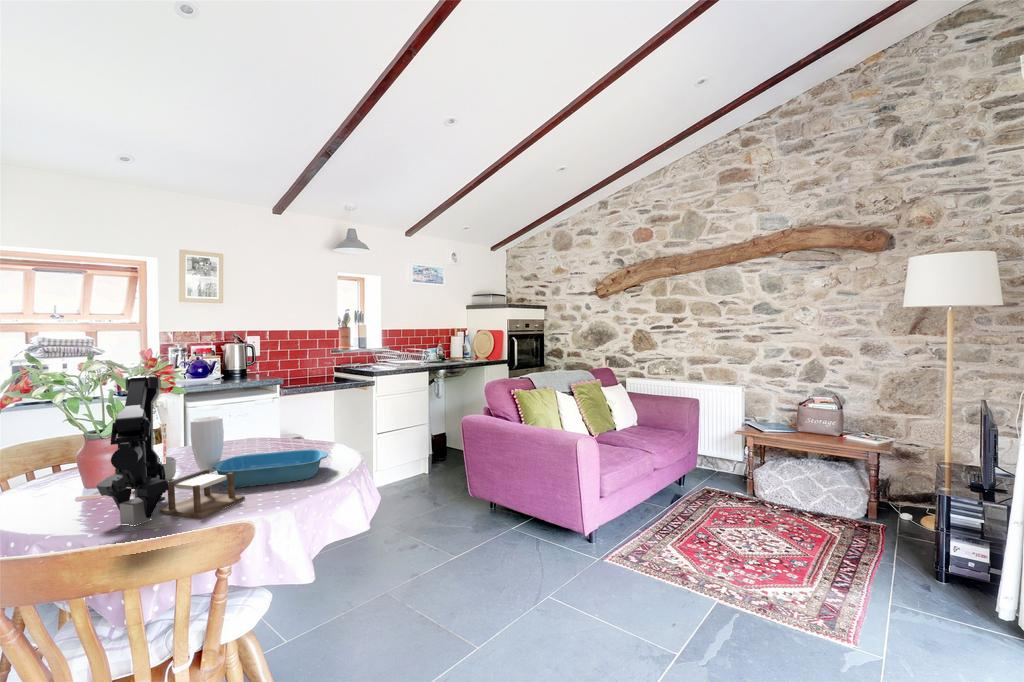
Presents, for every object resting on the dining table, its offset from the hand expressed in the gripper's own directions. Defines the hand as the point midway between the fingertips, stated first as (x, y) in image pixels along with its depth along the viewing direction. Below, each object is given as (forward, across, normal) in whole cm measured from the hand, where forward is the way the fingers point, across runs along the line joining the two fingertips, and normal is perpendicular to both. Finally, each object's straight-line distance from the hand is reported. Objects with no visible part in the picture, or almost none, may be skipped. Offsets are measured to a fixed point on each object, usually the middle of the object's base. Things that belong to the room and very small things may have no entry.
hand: (136, 516), depth 138 cm
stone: (+2, 0, 0) cm, 2 cm away
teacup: (+2, -29, +27) cm, 40 cm away
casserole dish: (+2, +8, +42) cm, 43 cm away
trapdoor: (-5, +8, +14) cm, 17 cm away
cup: (+2, -13, +35) cm, 37 cm away
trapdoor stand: (+2, +8, +14) cm, 16 cm away
